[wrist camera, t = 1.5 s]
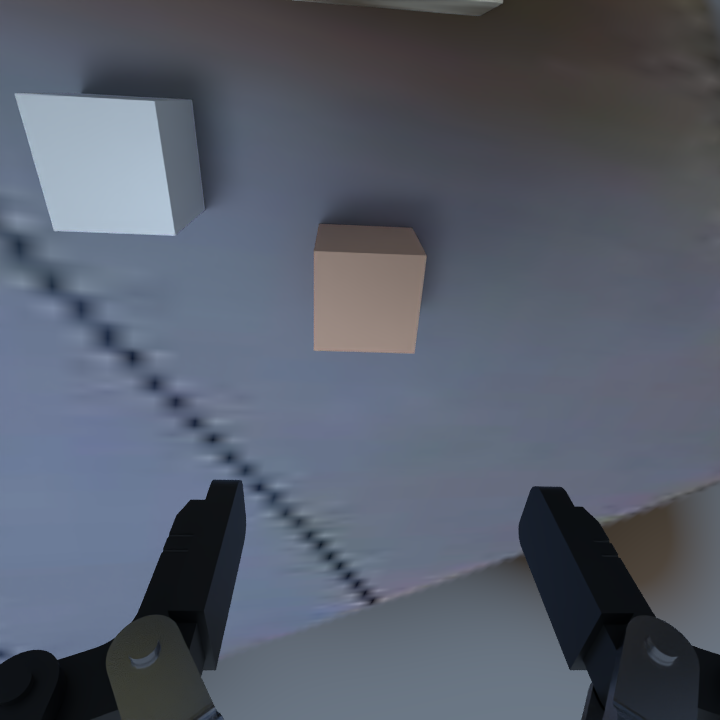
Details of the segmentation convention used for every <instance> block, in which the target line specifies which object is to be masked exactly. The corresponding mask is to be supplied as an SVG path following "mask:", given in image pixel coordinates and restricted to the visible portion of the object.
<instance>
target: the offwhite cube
mask: <svg viewBox="0 0 720 720" xmlns="http://www.w3.org/2000/svg"><path fill="white" fill-rule="evenodd" d="M15 97H16V100H17V104H18V107H19V111H20V114H21V118H22V121H23V124H24V128H25V131H26V135H27V138H28V142H29V145H30V149H31V152H32V156H33V159H34V163H35V166H36V170H37V173H38V177H39V180H40V184H41V187H42V191H43V194H44V197H45V201H46V204H47V208H48V211H49V215H50V218H51V222H52V225H53V229H54V231H72V232H97V233H122V234H147V235H172V236H175V235H177V234H178V233H179V232H180V231H181V230H182V229H184V228H185V227H186V226H187V225H188V224H190V223H191V222H192V221H193V220H194V219H195V218H197V217H198V216H199V215H200V214H201V213H202V212H204V211H205V205H204V196H203V188H202V179H201V171H200V162H199V154H198V145H197V137H196V128H195V120H194V112H193V103H192V100H190V99H172V98H155V97H137V96H119V95H101V94H84V93H15Z"/></svg>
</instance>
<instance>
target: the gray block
mask: <svg viewBox="0 0 720 720" xmlns="http://www.w3.org/2000/svg"><path fill="white" fill-rule="evenodd" d="M294 1H306V2H318V3H329V4H341V5H353V6H365V7H377V8H388V9H400V10H412V11H424V12H436V13H447V14H459V15H471V16H481V15H483V14H485V13H486V12H488V11H490V10H492V9H493V8H495V7H497V6H499V5H501V4H502V3H503V0H294Z"/></svg>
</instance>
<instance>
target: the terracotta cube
mask: <svg viewBox="0 0 720 720" xmlns="http://www.w3.org/2000/svg"><path fill="white" fill-rule="evenodd" d="M426 258H427V255H426V253H425V251H424V249H423V247H422V246H421V244H420V242H419V240H418V238H417V236H416V234H415V232H414V230H413V228H407V227H384V226H360V225H337V224H319V227H318V232H317V237H316V243H315V248H314V351H344V352H380V353H414V352H415V344H416V336H417V329H418V321H419V313H420V305H421V297H422V289H423V281H424V273H425V266H426Z"/></svg>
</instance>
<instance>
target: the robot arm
mask: <svg viewBox="0 0 720 720" xmlns="http://www.w3.org/2000/svg"><path fill="white" fill-rule="evenodd" d="M245 532H246V513H245V503H244V493H243V484H242V481H241V480H213V481H212V482H211V485H210V487H209V490H208V493H207V496H206V499H205V500H190V501H189V502H188V503H187V504H186V505H185V507H184V508H183V509H182V510H181V511H180V512H179V513H178V514H177V515H176V518H175V520H174V523H173V525H172V528H171V530H170V533H169V537H168V538H167V541H166V543H165V546H164V548H163V553H161V556H160V558H159V561H158V563H157V566H156V568H155V571H154V573H153V576H152V578H151V581H150V584H149V586H148V589H147V591H146V594H145V596H144V599H143V601H142V604H141V606H140V609H139V611H138V613H137V615H136V616H135V618H134V620H133V621H132V622H131V623H130V624H129V625H127V626H126V627H125V628H124V629H122V631H121V632H120V633H119V634H118V635H117V636H116V637H115V638H114V639H113V640H111V641H109V642H108V643H106V644H104V645H102V646H99V647H96V648H94V649H91V650H87V651H84V652H81V653H78V654H75V655H72V656H69V657H66V658H63V659H59V660H57V659H56V658H55V656H53V655H52V654H51V653H49V652H47V651H43V650H31V651H26V652H23V653H20V654H18V655H15V656H13V657H11V658H10V659H8V660H6V661H5V662H3V663H2V664H0V720H224V719H223V717H222V715H221V714H220V713H218V712H217V710H216V708H215V706H214V704H213V702H212V700H211V698H210V696H209V693H208V691H207V689H206V687H205V685H204V682H203V680H202V678H201V675H202V671H203V670H216V667H217V662H218V658H219V653H220V649H221V644H222V640H223V635H224V631H225V626H226V622H227V617H228V613H229V608H230V604H231V599H232V595H233V590H234V585H235V581H236V576H237V572H238V567H239V563H240V558H241V554H242V549H243V545H244V540H245ZM519 540H520V544H521V547H522V550H523V552H524V555H525V557H526V560H527V562H528V565H529V568H530V570H531V573H532V575H533V578H534V580H535V583H536V585H537V588H538V590H539V593H540V595H541V598H542V601H543V603H544V606H545V608H546V611H547V613H548V616H549V618H550V621H551V623H552V626H553V629H554V631H555V634H556V636H557V639H558V641H559V644H560V646H561V649H562V651H563V654H564V656H565V659H566V661H567V664H568V667H569V669H570V670H587V671H588V674H589V676H590V678H591V681H592V683H591V684H590V686H589V689H588V693H587V697H586V702H585V706H584V711H583V714H582V718H581V720H720V655H719V654H715V653H712V652H709V651H706V650H703V649H700V648H697V647H695V646H692V645H691V644H690V642H689V641H688V640H687V639H686V638H685V637H684V635H683V634H682V633H680V632H679V631H678V630H677V629H676V628H674V627H673V626H672V625H670V624H669V623H667V622H665V621H663V620H661V619H659V618H656V616H655V615H654V614H653V612H652V610H651V609H650V607H649V605H648V604H647V602H646V600H645V599H644V597H643V595H642V594H641V592H640V590H639V589H638V587H637V585H636V584H635V582H634V580H633V579H632V577H631V575H630V574H629V572H628V570H627V569H626V567H625V565H624V564H623V562H622V560H621V559H620V558H618V554H617V552H616V550H615V549H614V547H613V545H612V544H611V543H609V538H608V537H607V535H606V533H605V532H604V530H603V528H602V527H601V525H600V523H599V522H598V521H597V520H596V519H595V518H594V517H593V516H592V515H591V514H590V513H588V512H587V511H586V510H585V509H584V508H583V507H574V505H573V503H572V501H571V500H570V498H569V496H568V494H567V492H566V491H565V490H564V489H563V488H562V487H539V486H534V487H532V489H531V490H530V493H529V496H528V499H527V502H526V505H525V508H524V511H523V513H522V516H521V519H520V522H519Z"/></svg>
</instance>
